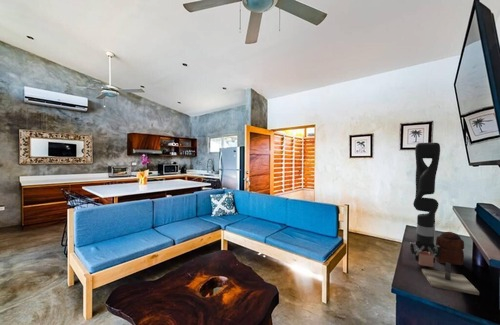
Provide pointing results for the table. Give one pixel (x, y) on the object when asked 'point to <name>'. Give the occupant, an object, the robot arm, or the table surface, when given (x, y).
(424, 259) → the bead
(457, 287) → the peg board
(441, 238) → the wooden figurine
